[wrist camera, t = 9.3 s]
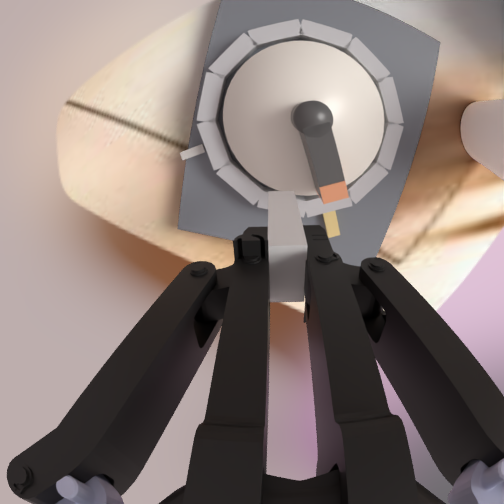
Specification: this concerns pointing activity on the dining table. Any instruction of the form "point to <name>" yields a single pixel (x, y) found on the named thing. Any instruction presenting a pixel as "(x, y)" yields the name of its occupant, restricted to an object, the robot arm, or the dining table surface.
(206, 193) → the panel
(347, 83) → the dial
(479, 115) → the cup
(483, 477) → the robot arm
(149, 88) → the dining table surface
